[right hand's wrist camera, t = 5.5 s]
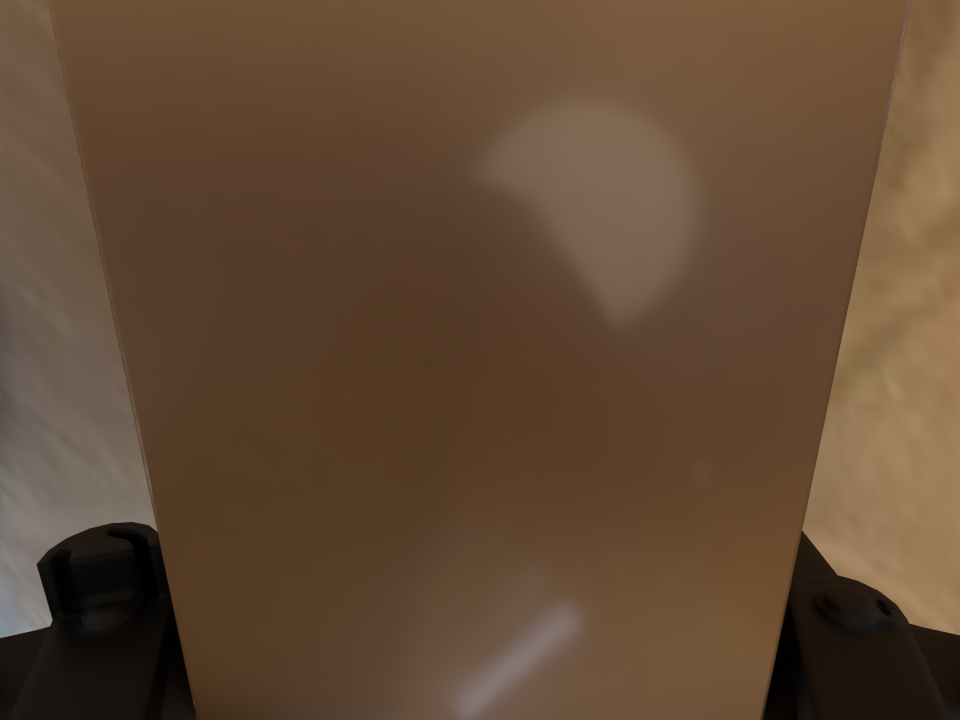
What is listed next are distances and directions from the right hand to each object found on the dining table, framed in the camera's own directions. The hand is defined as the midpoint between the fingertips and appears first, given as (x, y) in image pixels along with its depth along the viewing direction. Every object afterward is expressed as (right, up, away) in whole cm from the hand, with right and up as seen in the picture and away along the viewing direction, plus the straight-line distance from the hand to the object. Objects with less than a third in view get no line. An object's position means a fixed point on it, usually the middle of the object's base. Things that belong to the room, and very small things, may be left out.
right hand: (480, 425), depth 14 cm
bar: (0, +10, -3) cm, 10 cm away
